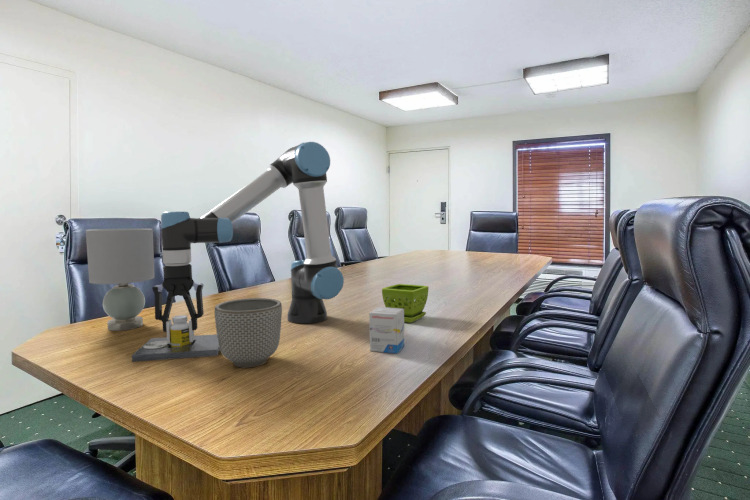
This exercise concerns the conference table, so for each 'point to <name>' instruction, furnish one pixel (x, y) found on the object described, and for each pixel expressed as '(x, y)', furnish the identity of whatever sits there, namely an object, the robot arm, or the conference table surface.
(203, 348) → the housing plate
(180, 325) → the supplement bottle
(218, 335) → the planter
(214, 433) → the conference table surface
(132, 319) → the lamp
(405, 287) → the flower pot
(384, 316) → the ink box
